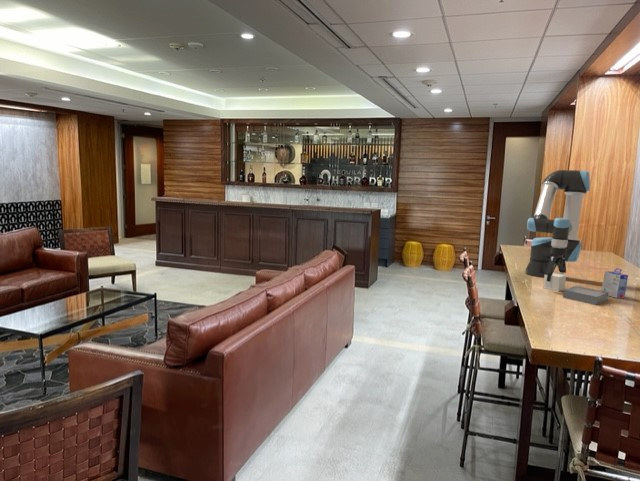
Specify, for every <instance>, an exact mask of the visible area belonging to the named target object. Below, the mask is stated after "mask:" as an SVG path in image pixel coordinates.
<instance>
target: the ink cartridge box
mask: <svg viewBox="0 0 640 481" xmlns="http://www.w3.org/2000/svg"><path fill="white" fill-rule="evenodd" d="M622 270H623V269H622V268H618V267H616V268H615V269H614V270H613V271H610V270H609V271H608V270H606V271H604V273H603V278H602V285H601V290H600V291H605V292H609V294H608V297H610V298H611V297H612V298H615V299H625V297H626V292H627V291H626V290H627V285H628V277H629V275H628V274H624V273H622Z"/></svg>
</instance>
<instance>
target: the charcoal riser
mask: <svg viewBox="0 0 640 481" xmlns="http://www.w3.org/2000/svg"><path fill="white" fill-rule="evenodd" d="M608 294H609V292H605V291H601V290H600V289H594V288H589V287H585V286H580V285H575V286H572V287H571V286H570V287H568V288H565V290H563V295H562V298H564V299H567V300H572V301H576V302H582V303H586V304H589V305H590V304H591V305H594V306H596V305H598V304H601V303H604V302H606V301H608V299H609V296H608Z"/></svg>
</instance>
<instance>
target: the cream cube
mask: <svg viewBox="0 0 640 481" xmlns="http://www.w3.org/2000/svg"><path fill="white" fill-rule="evenodd" d="M552 276H553V279H552V287H551V288H549V287H546V280H547V275H544V277H543V286H542V289H544V290H548V291H552V292H563V291H564V290H565V289H566V282H567V275H566V274H564V275H561V274H558V273H555V272H553V274H552Z"/></svg>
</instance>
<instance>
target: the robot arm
mask: <svg viewBox="0 0 640 481" xmlns="http://www.w3.org/2000/svg"><path fill="white" fill-rule="evenodd" d="M590 188H591V177H590V173H589V171H587V170H581V169H580V170H577V169H575V170H574V169H572V170H567V169H559V170H555V171H552V172H551V173H550V174H549V175H547V176H546V177H545V178H544V179H543V181H542V182H541V186H540V189H541V191H540V195H539V198H538V200H537V205H536V207H535V210H534V214H533V217H529V218H528V219H527V221H526V222H527V223H526V229H527V231H528V232H529V231H530V232H533V233H547V234H552V237H546V236H545V237H541V236H540V237H534V238H533V239H532V240H531V245H530V246H531V247H530V254H529V255H530V256H529V261H528V264H527V266H526V268H525V274H526V275H527V276H528V275H529V276H532V277H533V276H534V277H539V278H544V275H547V280H546V287H549V288H551V287H552V279H553V276H552V274H553V273H555V269H556V267H557V268H558V272H557V274H561V275H565V274H566V273H567V267H566V266H567V264H566V263H567V262H570V263H575V262H577V261H578V259H579V257H580V253H581V251H582V245H583V244H582V243H581V242H580V239H579V238H578V235H579V234H578V233H579V225H580V218H581V211H582V205H583V198H584V196H586V195H587V192H589V191H590V190H591V189H590ZM559 190H563V193H564V195H565V201H564V203H565V204H564V208H563V209H564V210H563V217H555V218H554V219H550V218H549V216H550V214H551V210H552V206H553V203H554V200H555V196H556V194H557V192H558V191H559Z"/></svg>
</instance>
